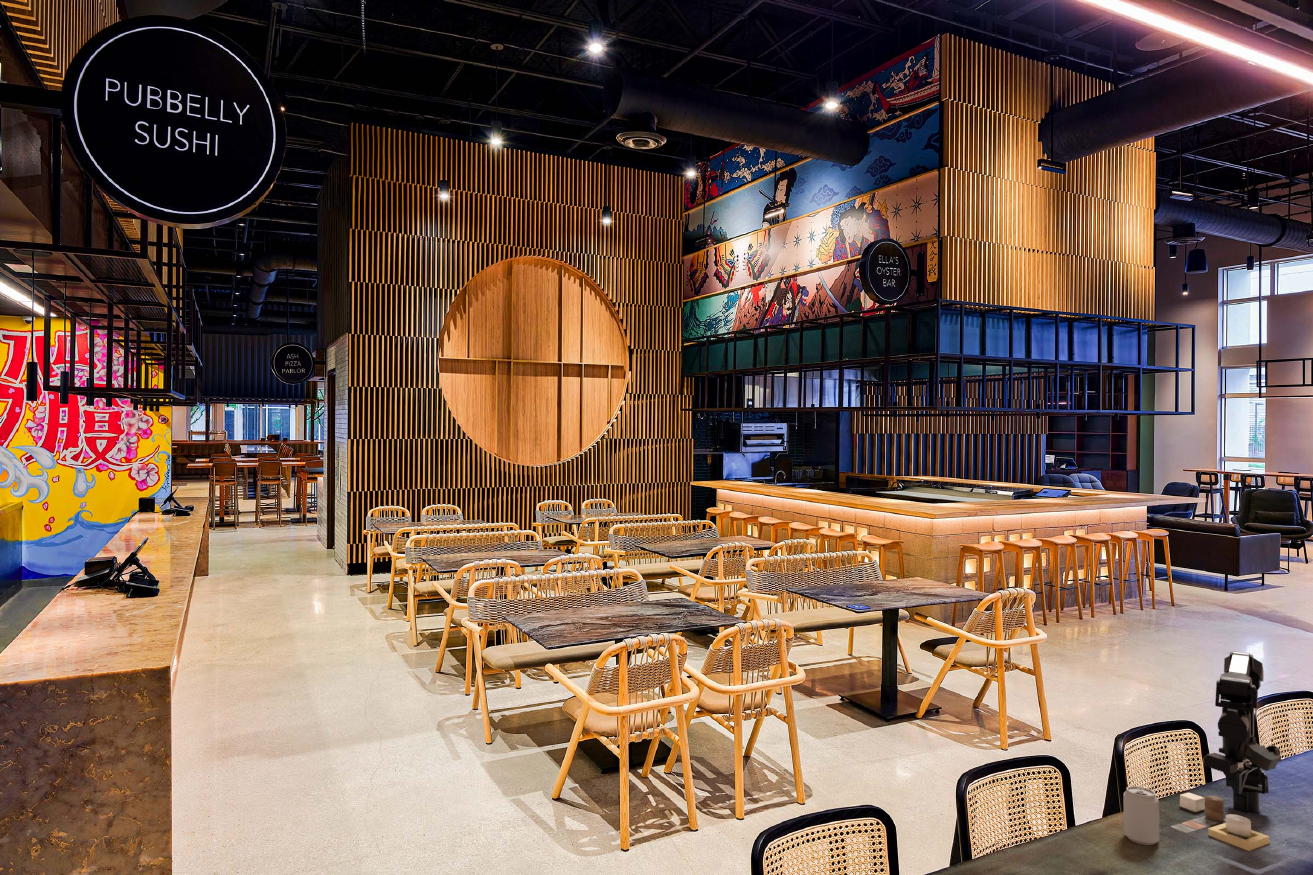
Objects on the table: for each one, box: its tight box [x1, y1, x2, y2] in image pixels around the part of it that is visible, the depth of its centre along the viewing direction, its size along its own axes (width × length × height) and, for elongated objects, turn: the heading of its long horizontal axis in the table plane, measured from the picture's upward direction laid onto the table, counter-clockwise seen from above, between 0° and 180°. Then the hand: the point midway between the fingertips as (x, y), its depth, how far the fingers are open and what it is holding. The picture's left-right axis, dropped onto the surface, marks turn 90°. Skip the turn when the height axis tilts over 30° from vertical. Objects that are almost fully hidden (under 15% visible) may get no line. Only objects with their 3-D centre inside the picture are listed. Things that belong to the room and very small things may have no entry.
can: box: [1122, 785, 1160, 846], centre depth 198 cm, size 8×8×12 cm
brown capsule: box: [1204, 795, 1225, 823], centre depth 208 cm, size 4×4×5 cm
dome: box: [1225, 813, 1252, 837], centre depth 196 cm, size 5×5×3 cm
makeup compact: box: [1170, 815, 1226, 834], centre depth 205 cm, size 18×7×1 cm, turn 116°
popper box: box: [1207, 822, 1270, 852], centre depth 196 cm, size 9×9×2 cm
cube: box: [1179, 791, 1205, 813], centre depth 215 cm, size 4×4×4 cm
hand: (1237, 793), depth 197 cm, fingers closed
